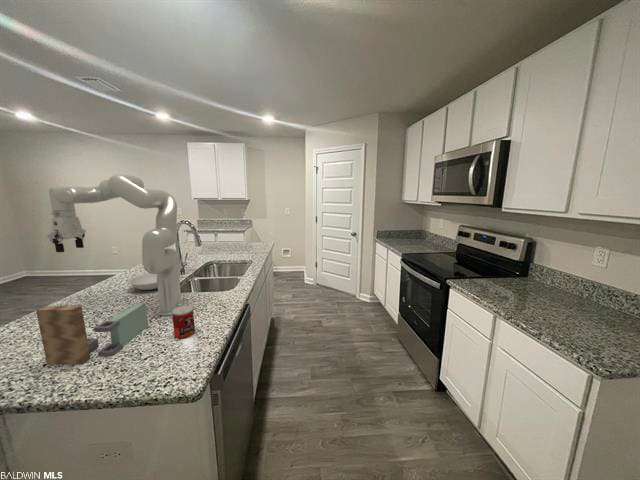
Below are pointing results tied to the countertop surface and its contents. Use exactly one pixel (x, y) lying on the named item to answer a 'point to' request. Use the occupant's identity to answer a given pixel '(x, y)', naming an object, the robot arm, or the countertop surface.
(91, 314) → the countertop surface
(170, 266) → the robot arm
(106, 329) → the door
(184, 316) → the canned food
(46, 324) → the cabinet side
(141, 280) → the soup bowl
